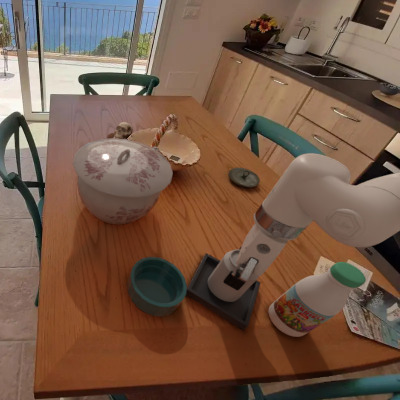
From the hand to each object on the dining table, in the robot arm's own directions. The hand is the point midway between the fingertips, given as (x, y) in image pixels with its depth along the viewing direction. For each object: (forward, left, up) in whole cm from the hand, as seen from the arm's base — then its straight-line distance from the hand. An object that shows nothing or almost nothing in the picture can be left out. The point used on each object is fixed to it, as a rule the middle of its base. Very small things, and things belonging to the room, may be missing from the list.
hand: (235, 272), depth 60 cm
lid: (+7, -51, -8) cm, 52 cm away
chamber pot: (+36, -8, -8) cm, 37 cm away
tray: (0, 0, -8) cm, 8 cm away
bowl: (+13, +11, -8) cm, 19 cm away
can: (0, 0, -7) cm, 7 cm away
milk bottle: (-14, -2, -8) cm, 16 cm away
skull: (+56, -45, -8) cm, 72 cm away
